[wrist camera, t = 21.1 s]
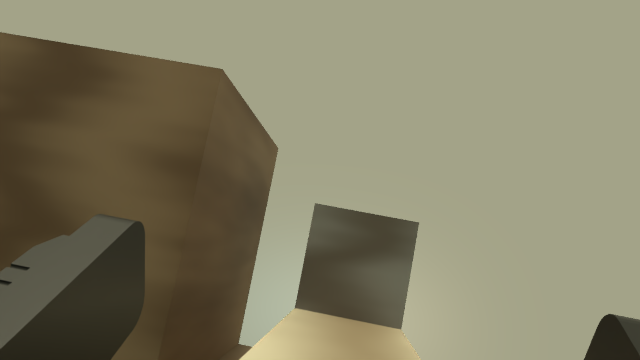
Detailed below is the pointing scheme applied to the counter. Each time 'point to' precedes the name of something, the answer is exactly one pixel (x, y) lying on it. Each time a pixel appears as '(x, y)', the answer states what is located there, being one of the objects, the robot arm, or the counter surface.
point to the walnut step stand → (139, 180)
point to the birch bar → (348, 292)
